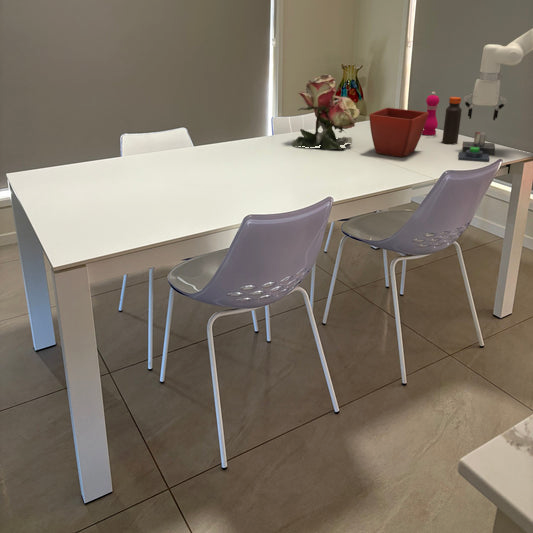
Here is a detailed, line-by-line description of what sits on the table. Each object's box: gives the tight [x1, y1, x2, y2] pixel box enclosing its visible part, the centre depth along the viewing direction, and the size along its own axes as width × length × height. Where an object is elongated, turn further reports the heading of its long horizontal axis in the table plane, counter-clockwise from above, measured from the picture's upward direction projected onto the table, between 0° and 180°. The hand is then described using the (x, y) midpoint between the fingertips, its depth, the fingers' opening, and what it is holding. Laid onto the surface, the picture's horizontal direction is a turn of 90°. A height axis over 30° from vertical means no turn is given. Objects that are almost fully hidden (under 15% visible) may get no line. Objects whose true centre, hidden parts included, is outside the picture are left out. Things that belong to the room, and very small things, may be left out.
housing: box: [457, 150, 490, 163], centre depth 244 cm, size 12×9×3 cm
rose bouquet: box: [292, 73, 361, 151], centre depth 264 cm, size 26×29×30 cm
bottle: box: [441, 96, 463, 145], centre depth 265 cm, size 7×7×20 cm
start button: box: [470, 147, 479, 153], centre depth 243 cm, size 4×4×2 cm
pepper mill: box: [421, 91, 440, 137], centre depth 281 cm, size 7×7×20 cm
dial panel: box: [461, 141, 496, 156], centre depth 254 cm, size 13×10×3 cm
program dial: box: [473, 131, 487, 146], centre depth 252 cm, size 4×4×5 cm
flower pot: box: [369, 107, 428, 158], centre depth 250 cm, size 19×19×17 cm
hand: (481, 118), depth 248 cm, fingers open, 9 cm apart
